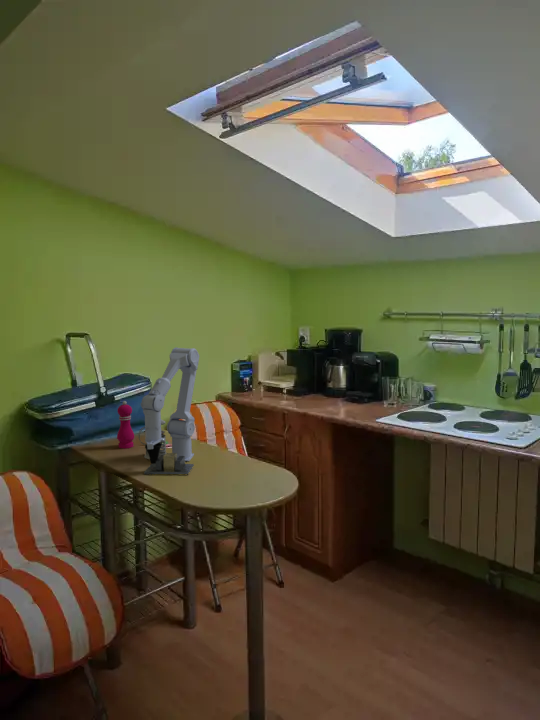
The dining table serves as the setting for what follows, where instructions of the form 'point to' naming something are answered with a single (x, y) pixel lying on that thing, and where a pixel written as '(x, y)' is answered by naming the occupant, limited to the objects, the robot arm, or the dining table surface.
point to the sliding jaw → (160, 463)
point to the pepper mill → (125, 427)
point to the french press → (161, 452)
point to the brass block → (170, 461)
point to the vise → (179, 469)
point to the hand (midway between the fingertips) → (154, 463)
